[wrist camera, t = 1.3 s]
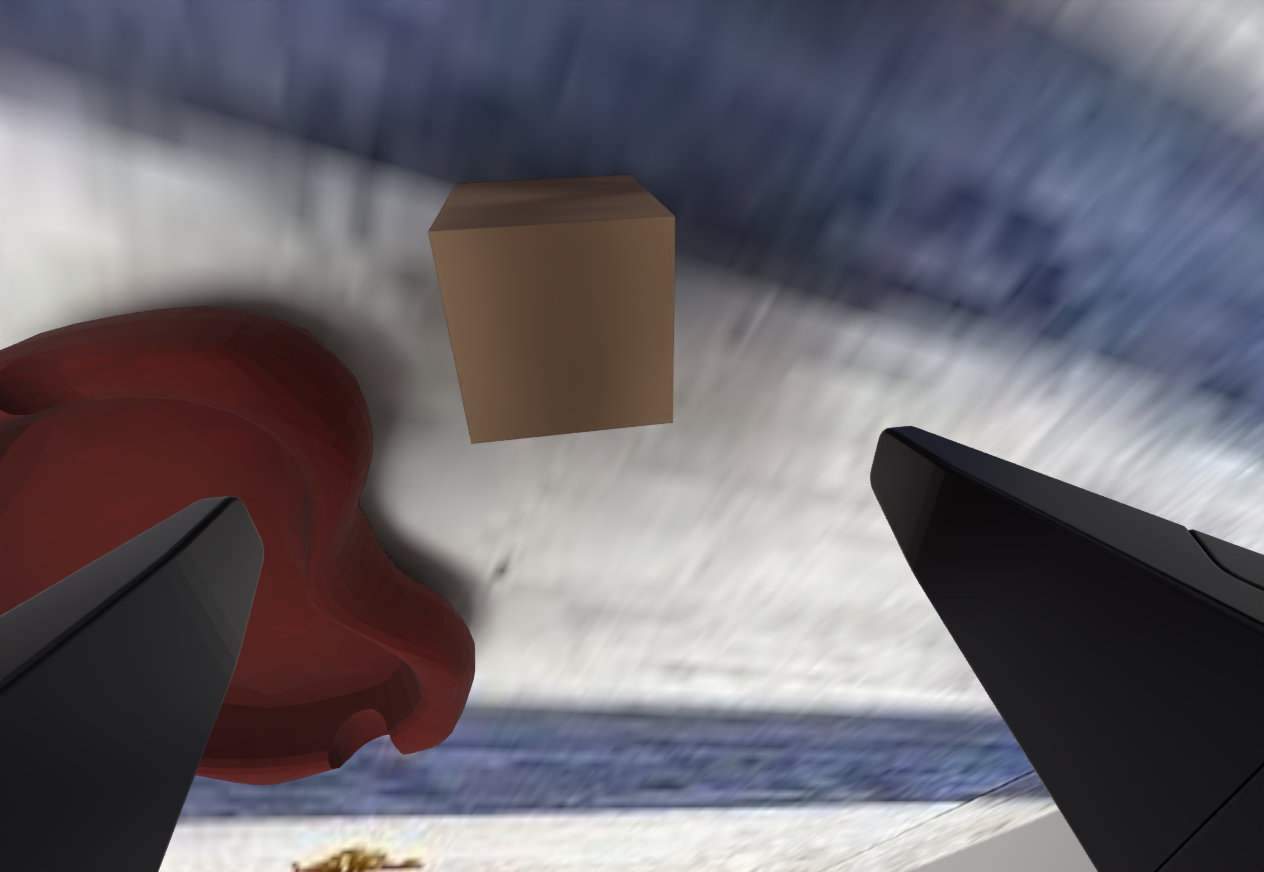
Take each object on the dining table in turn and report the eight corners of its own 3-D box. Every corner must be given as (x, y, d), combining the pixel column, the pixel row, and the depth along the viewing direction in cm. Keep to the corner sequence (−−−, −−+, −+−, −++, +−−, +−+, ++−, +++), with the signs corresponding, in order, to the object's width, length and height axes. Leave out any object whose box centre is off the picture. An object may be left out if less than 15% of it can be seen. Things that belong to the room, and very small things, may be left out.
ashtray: (-248, 360, 16) (-514, 460, 12) (340, 250, 17) (281, 308, 13) (135, 721, 26) (61, 847, 22) (500, 639, 27) (496, 744, 23)
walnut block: (630, 174, 17) (675, 216, 12) (634, 333, 20) (672, 422, 15) (456, 183, 17) (428, 231, 12) (484, 346, 19) (471, 443, 14)
